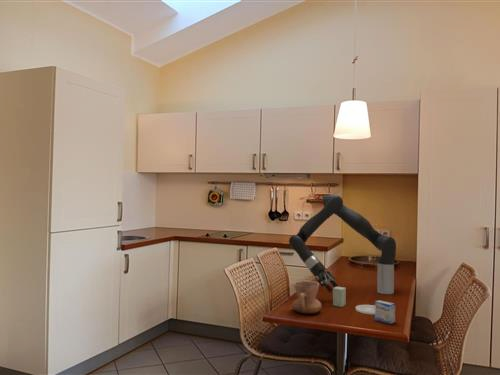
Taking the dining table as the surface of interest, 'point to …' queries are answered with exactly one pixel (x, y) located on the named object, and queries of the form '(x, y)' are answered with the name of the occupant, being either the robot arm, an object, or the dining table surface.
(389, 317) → the medicine box
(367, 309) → the dish
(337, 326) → the dining table surface
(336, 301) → the sage block
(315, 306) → the ceramic jug
